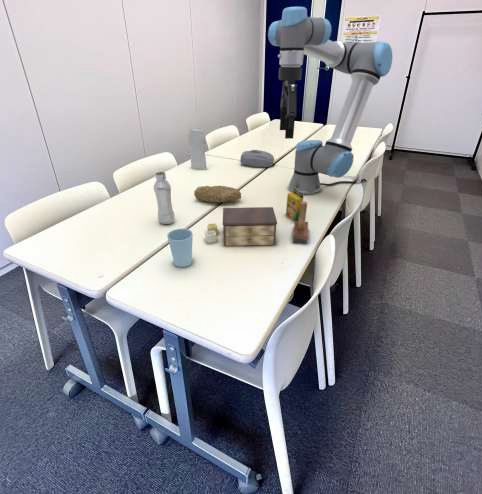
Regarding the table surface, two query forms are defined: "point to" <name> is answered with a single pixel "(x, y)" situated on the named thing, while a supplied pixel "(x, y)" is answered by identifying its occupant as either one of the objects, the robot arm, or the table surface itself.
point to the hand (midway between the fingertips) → (286, 134)
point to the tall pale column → (197, 149)
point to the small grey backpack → (257, 158)
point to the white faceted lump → (210, 236)
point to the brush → (301, 226)
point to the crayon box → (294, 205)
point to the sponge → (217, 194)
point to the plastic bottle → (163, 199)
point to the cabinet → (249, 226)
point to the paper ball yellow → (212, 227)
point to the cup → (181, 246)
